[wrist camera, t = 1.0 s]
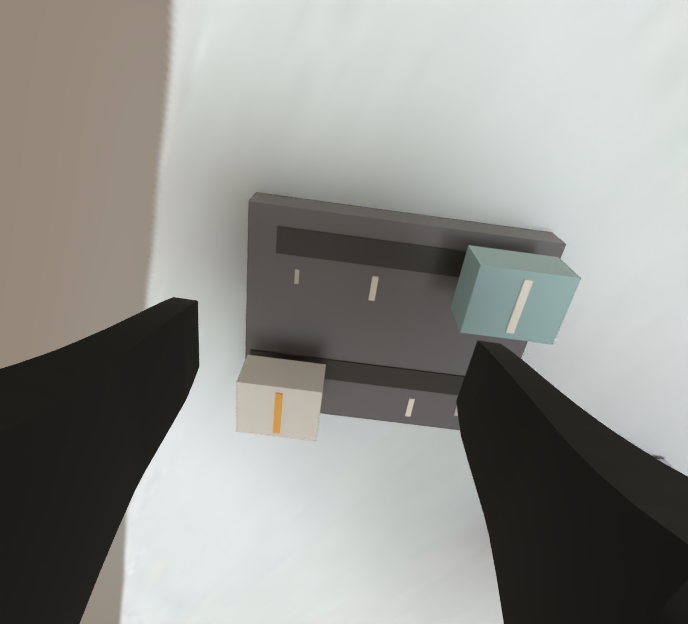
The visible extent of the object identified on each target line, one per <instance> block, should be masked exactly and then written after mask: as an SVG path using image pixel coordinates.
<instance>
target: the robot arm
mask: <svg viewBox="0 0 688 624" xmlns="http://www.w3.org/2000/svg"><path fill="white" fill-rule="evenodd" d="M198 369H199V334H198V301H196V300H189V299H182V298H175V297H173V298H170V299H168V300H165V301H163V302H161V303H159V304H157V305H154V306H152V307H150V308H148V309H146V310H144V311H142V312H140V313H138V314H136V315H134V316H132V317H130V318H128V319H126V320H124V321H121V322H120V323H117V324H116V325H113V326H111V327H109V328H107V329H105V330H102V331H100V332H98V333H95V334H93V335H91V336H88V337H86V338H84V339H82V340H79V341H77V342H75V343H72V344H70V345H68V346H65V347H62V348H60V349H57V350H55V351H52V352H49V353H47V354H44V355H41V356H38V357H35V358H32V359H30V360H26V361H23V362H21V363H18V364H15V365H11V366H8V367H5V368H1V369H0V624H79V623H80V621H81V618H82V616H83V613H84V611H85V608H86V605H87V603H88V601H89V598H90V595H91V593H92V590H93V588H94V585H95V583H96V580H97V578H98V575H99V573H100V570H101V568H102V566H103V563H104V561H105V558H106V556H107V554H108V551H109V549H110V547H111V544H112V542H113V539H114V537H115V535H116V532H117V530H118V528H119V525H120V523H121V521H122V519H123V516H124V514H125V512H126V510H127V507H128V505H129V503H130V501H131V498H132V496H133V494H134V492H135V490H136V488H137V486H138V484H139V482H140V480H141V478H142V476H143V474H144V472H145V470H146V469H147V467H148V465H149V464H150V462H151V460H152V458H153V457H154V455H155V453H156V451H157V450H158V448H159V446H160V444H161V443H162V441H163V439H164V438H165V436H166V434H167V432H168V431H169V429H170V427H171V425H172V424H173V422H174V420H175V418H176V417H177V415H178V413H179V411H180V410H181V408H182V406H183V404H184V402H185V401H186V399H187V396H188V394H189V391H190V389H191V387H192V384H193V382H194V379H195V376H196V374H197V371H198ZM456 404H457V412H458V420H459V426H460V433H461V437H462V441H463V445H464V448H465V452H466V455H467V459H468V462H469V466H470V469H471V472H472V476H473V479H474V483H475V486H476V489H477V493H478V496H479V499H480V503H481V506H482V510H483V513H484V517H485V521H486V525H487V529H488V533H489V538H490V543H491V549H492V554H493V560H494V565H495V570H496V576H497V582H498V589H499V595H500V601H501V608H502V614H503V620H504V624H688V477H687V476H686V475H684V474H682V473H680V472H679V471H677V470H675V469H673V468H671V465H670V464H669V463H668V462H667V461H666V460H664V459H656V458H654V457H653V456H651V455H649V454H648V453H646V452H644V451H643V450H641V449H640V448H638V447H637V446H635V445H633V444H632V443H630V442H629V441H627V440H626V439H624V438H623V437H621V436H620V435H618V434H617V433H615V432H614V431H612V430H611V429H609V428H608V427H606V426H605V425H604V424H602V423H601V422H599V421H598V420H597V419H595V418H594V417H593V416H591V415H590V414H589V413H587V412H586V411H585V410H583V409H582V408H581V407H579V406H578V405H577V404H575V403H574V402H573V401H571V400H570V399H569V398H568V397H566V396H565V395H564V394H563V393H561V392H560V391H559V390H558V389H556V388H555V387H554V386H553V385H552V384H550V383H549V382H548V381H547V380H546V379H544V378H543V377H542V376H541V375H540V374H538V373H537V372H536V371H535V370H534V369H532V368H531V367H530V366H529V365H528V364H527V363H525V362H524V361H523V360H522V359H521V358H519V357H518V356H517V355H516V354H514V353H513V352H512V351H511V350H509V349H508V348H506V347H505V346H504V345H502V344H500V343H493V342H486V341H479V340H477V343H476V346H475V349H474V352H473V355H472V357H471V360H470V363H469V366H468V369H467V372H466V375H465V377H464V380H463V383H462V386H461V389H460V392H459V395H458V398H457V400H456Z"/></svg>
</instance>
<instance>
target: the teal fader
mask: <svg viewBox="0 0 688 624" xmlns="http://www.w3.org/2000/svg"><path fill="white" fill-rule="evenodd" d="M580 280H581V278H580V277H579V276H578V275H577V274H576V273H575V272H574V271H573V270H572V269H571V268H570V267H568V266H567V265H566V264H565V263H564V262H563V261H562V260H561V259H560V258H559V257H553V256H546V255H538V254H531V253H523V252H516V251H508V250H501V249H493V248H486V247H479V246H471V245H468V248H467V252H466V255H465V259H464V262H463V266H462V269H461V273H460V277H459V280H458V284H457V287H456V291H455V294H454V298H453V302H452V305H451V310H452V312H453V315H454V318H455V320H456V323H457V325H458V328H459V331H460V333H468V334H476V335H483V336H491V337H499V338H507V339H515V340H522V341H530V342H538V343H546V344H553V342H554V340H555V338H556V335H557V333H558V331H559V328H560V326H561V324H562V321H563V319H564V317H565V315H566V312H567V310H568V308H569V305H570V303H571V301H572V298H573V296H574V294H575V291H576V289H577V287H578V284H579V282H580Z"/></svg>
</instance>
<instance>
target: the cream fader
mask: <svg viewBox="0 0 688 624" xmlns="http://www.w3.org/2000/svg"><path fill="white" fill-rule="evenodd" d="M325 368H326V364H318V363H310V362H302V361H294V360H286V359H278V358H270V357H262V356H254V355H247V358H246V360H245V362H244V365H243V367H242V370H241V372H240V375H239V377H238V380H237V388H236V432H244V433H253V434H261V435H270V436H278V437H286V438H295V439H303V440H312V441H316V438H317V431H318V423H319V416H320V408H321V400H322V393H323V384H324V376H325Z"/></svg>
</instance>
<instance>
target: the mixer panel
mask: <svg viewBox="0 0 688 624" xmlns="http://www.w3.org/2000/svg"><path fill="white" fill-rule="evenodd" d="M468 245H471V246H479V247H486V248H493V249H501V250H508V251H516V252H523V253H531V254H538V255H546V256H553V257H559V258H561V256H562V253H563V251H564V248H565V246H566V244H565V243H564V242H563V241H562V240H561V239H559V238H558V237H557V236H556V235H555V234H553V233H550V232H543V231H536V230H528V229H521V228H514V227H506V226H499V225H492V224H484V223H477V222H470V221H462V220H455V219H448V218H440V217H433V216H425V215H418V214H411V213H403V212H396V211H389V210H381V209H374V208H367V207H359V206H352V205H345V204H337V203H330V202H323V201H315V200H308V199H301V198H293V197H286V196H278V195H271V194H264V193H255V195H254V196H253V197H252V198H251V199H250V200H249V211H248V260H247V309H246V358H247V355H254V356H262V357H270V358H278V359H286V360H294V361H302V362H310V363H318V364H326V368H325V376H324V384H323V393H322V400H321V408H320V413H323V414H331V415H340V416H348V417H356V418H364V419H373V420H381V421H389V422H397V423H406V424H414V425H422V426H430V427H439V428H447V429H455V430H460V426H459V420H458V412H457V404H456V400H457V398H458V395H459V392H460V389H461V386H462V383H463V380H464V377H465V375H466V372H467V369H468V366H469V363H470V360H471V357H472V355H473V352H474V349H475V346H476V343H477V340H479V341H486V342H493V343H500V344H502V345H504V346H505V347H506V348H508V349H509V350H511V351H512V352H513V353H514V354H516V355H517V356H518V357H519V358H521V357H522V354H523V352H524V349H525V347H526V344H527V342H528V341H522V340H515V339H507V338H499V337H491V336H483V335H476V334H468V333H460V331H459V328H458V325H457V323H456V320H455V318H454V315H453V312H452V310H451V305H452V302H453V298H454V294H455V291H456V287H457V284H458V280H459V277H460V273H461V269H462V266H463V262H464V259H465V255H466V252H467V248H468ZM246 358H245V360H246Z"/></svg>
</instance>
